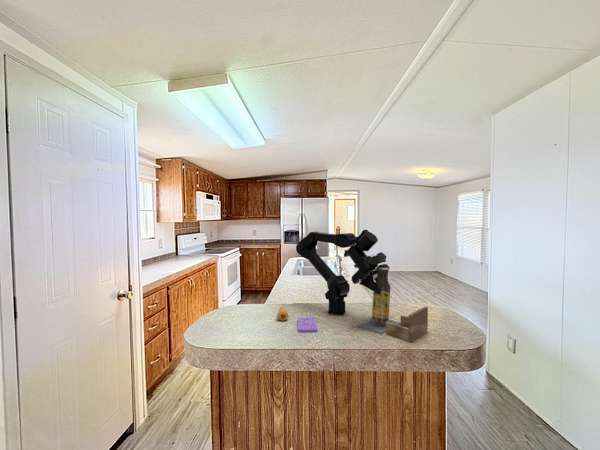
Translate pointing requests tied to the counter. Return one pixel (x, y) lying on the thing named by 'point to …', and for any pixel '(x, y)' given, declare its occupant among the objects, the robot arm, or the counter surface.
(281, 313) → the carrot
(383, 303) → the sauce bottle
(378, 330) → the charcoal mat
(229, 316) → the counter surface
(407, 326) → the bottle rack
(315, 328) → the sponges
